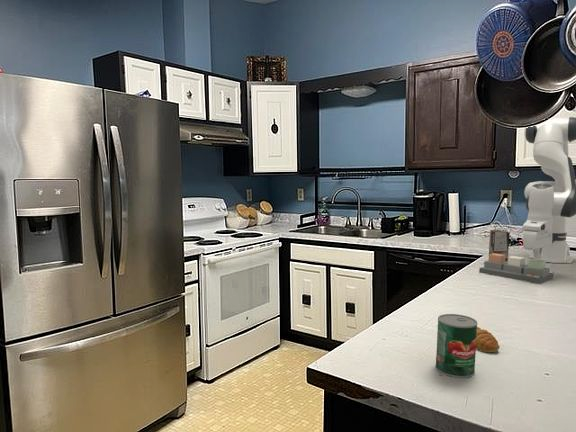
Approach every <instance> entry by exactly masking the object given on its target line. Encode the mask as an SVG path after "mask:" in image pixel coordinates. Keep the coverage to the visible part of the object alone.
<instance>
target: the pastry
mask: <svg viewBox="0 0 576 432" xmlns="http://www.w3.org/2000/svg"><path fill="white" fill-rule="evenodd" d="M499 349H500V345H499V342H498V340H497V339H496V337H495V336H493V334H492V332H489V331H488V330H487V329H484V328H483V329H482V328H481V327H478V326H477V336H476V350H478V351H480V352H485V353H486V354H488V353H494V352H498V351H499Z"/></svg>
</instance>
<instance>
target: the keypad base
mask: <svg viewBox="0 0 576 432" xmlns="http://www.w3.org/2000/svg"><path fill="white" fill-rule="evenodd" d="M483 265H484V266H482V267H479V271H478V272H479V273H480V274H485V275H490V276H496V277H503V278H506V279H507V278H508V279H513V280H516V281H517V280H518V281H524V282H529V283H533V284H534V283H535V284H539V285H541V284H543V283H546V282H547V281H550V280H553V279H554V275H555V273H553V272H551V268H549V267H546V269H544V270H537V269H531V268H528V264H525V266H521V267H518V266H512V265H508V262H506V261H505V262H504V263H501V264H500V263H494V262H489V259H488V260H485V261H484V262H483Z"/></svg>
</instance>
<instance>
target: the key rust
mask: <svg viewBox="0 0 576 432" xmlns="http://www.w3.org/2000/svg"><path fill="white" fill-rule="evenodd" d="M488 260H489V262H494V263H500V264H501V263H504V262H505V255H503V254H496V253H493V254H489V253H488Z"/></svg>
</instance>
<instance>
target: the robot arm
mask: <svg viewBox="0 0 576 432" xmlns="http://www.w3.org/2000/svg"><path fill="white" fill-rule="evenodd" d="M549 119H550V120H548V121H546V122H544V123H542V124H540V125H537V126H533V127H528V128H526V127H525V128H524V136H525V137H524V138H525V140H526V141H527V142H528V143H529V144H533V148H532V151H533V152H532V155H533V157H532V158H533V160H534V161H535V162H536V163H537V165H539V166H540V169H541V172H543V173H544V174H545V175H548V176H550V177H552V179H554V181H552V180H551V181H549V180H545V181H544V180H543V181H542V180H538V181H533V182H529V183H528V184H526V186H525V188H524V192H523V193H524V197H525V199H526V202H525V204H526V205H525V209H526V210H527V211H528V214H527V219H526V221H525V222H524V223H523V225H522V230H524V231H523V236H522V238H523V239H522V241H523V243H522V245H523V246H522V247H523V248H524V250H529V251H532V254H529V256H528V258H530V259H537V260H544V261H546V263H553V264H554V263H557V264H572V263H573V262H574V260H575V256H570V252H571V251H570V250H571V249H570V246H569V244H568V243H567V241H566V240H567V236H568V235H567V232H566V222H567V219H566V218H573V216H576V175H575V169H574V164H573V160H572V158H571V157H570V156H569V143H572V142H574V141H576V117H574V116H570V117H552V118H549Z"/></svg>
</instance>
